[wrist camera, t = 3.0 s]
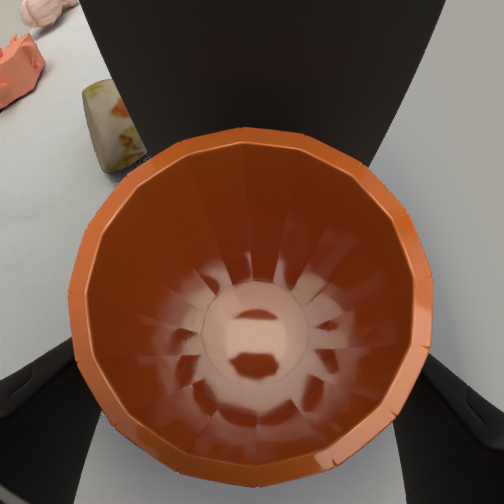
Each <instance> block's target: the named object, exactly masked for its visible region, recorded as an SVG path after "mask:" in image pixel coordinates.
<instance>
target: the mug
mask: <svg viewBox="0 0 504 504" xmlns="http://www.w3.org/2000/svg"><path fill="white" fill-rule="evenodd" d="M82 98H83V105H84V111H85V116H86V121H87V125H88V129H89V132H90V136H91V140H92V143H93V147H94V149H95V152H96V155H97V158H98V161H99V164H100V166H101V168H102V171H103V172H105V173H106V172H113V171H117V170H121V169H123V168H126V167H128V166H129V165H131V164H133V163H134V162H136V161H137V160H138V159H140V158H141V157H142V156H144V155H145V154H146V153H147V150H146V148H145V146H144V144H143V142H142V140H141V138H140V136H139V134H138V132H137V130H136V128H135V126H134V124H133V122H132V120H131V118H130V116H129V114H128V112H127V109H126V107H125V105H124V103H123V101H122V99H121V97H120V95H119V92H118V90H117V88H116V86H115V84H114V82H113V79H106V80H102V81H99V82H96V83H94V84H92V85H90V86H89V87H87V88H86V89H84V90H83V91H82Z"/></svg>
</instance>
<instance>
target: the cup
mask: <svg viewBox="0 0 504 504" xmlns="http://www.w3.org/2000/svg"><path fill="white" fill-rule="evenodd" d="M126 176H127V177H124V178H123V179H122V180H121V182H120V183H119V184H118V185H117V187H116V188H115V189H114V191H113V192H112V193H111V194H110V196H109V197H108V198H107V200H106V201H105V202H104V204H103V205H102V206H101V208H100V209H99V210H98V212H97V213H96V214H95V216H94V217H93V219H92V220H91V221H90V223H89V224H88V226H87V229H85V232H84V235H83V238H82V241H81V245H80V248H79V251H78V255H77V258H76V262H75V265H74V269H73V273H72V276H71V280H70V284H69V289H68V293H69V294H68V304H69V315H70V325H71V333H72V341H73V348H74V354H75V360H76V362H77V366H78V368H79V370H80V372H81V374H82V376H83V378H84V380H85V381H86V383H87V385H88V387H89V389H90V390H91V392H92V394H93V396H94V397H95V399H96V401H97V402H98V404H99V406H100V407H101V409H102V411H103V412H104V414H105V415H106V417H107V418H108V420H109V422H110V423H111V425H112V426H114V427H115V429H116V430H117V431H118V432H120V433H121V434H122V435H123V436H125V437H126V438H127V439H129V440H130V441H131V442H132V443H134V444H135V445H137V446H138V447H139V448H141V449H142V450H143V451H145V452H146V453H148V454H149V455H151V456H152V457H153V458H155V459H156V460H158V461H159V462H161V463H162V464H164V465H165V466H167V467H169V468H170V469H172V470H173V471H175V472H178V471H179V473H180V474H183V475H187V476H191V477H195V478H200V479H204V480H209V481H214V482H220V483H225V484H231V485H238V486H245V487H253V488H255V487H257V486H258V487H265V486H270V485H275V484H279V483H284V482H288V481H292V480H296V479H300V478H303V477H307V476H311V475H314V474H317V473H321V472H324V471H327V470H330V469H333V468H335V466H339V465H340V464H342V463H343V462H344V461H346V460H347V459H348V458H350V457H351V456H352V455H354V454H355V453H356V452H358V451H359V450H360V449H361V448H363V447H364V446H365V445H366V444H367V443H369V442H370V441H371V440H372V439H373V438H375V437H376V436H377V435H378V434H379V433H380V432H382V431H383V430H384V429H385V428H386V427H387V426H388V425H389V424H390V423H392V422H393V421H394V420H395V419H396V416H398V415H399V413H400V411H401V410H402V408H403V406H404V404H405V402H406V400H407V398H408V396H409V394H410V392H411V390H412V388H413V386H414V384H415V382H416V380H417V378H418V376H419V374H420V372H421V369H422V367H423V365H424V363H425V360H426V358H427V356H428V353H429V350H430V349H429V348H430V346H431V337H432V318H433V279H432V277H431V276H432V272H431V269H430V267H429V263H428V261H427V258H426V255H425V252H424V250H423V247H422V244H421V242H420V239H419V237H418V234H417V232H416V229H415V227H414V224H413V222H412V220H411V217H410V215H409V214H408V213H407V210H406V209H405V208H404V207H403V205H402V204H401V203H400V202H399V201H398V200H397V199H396V198H395V196H394V195H393V194H392V193H391V192H390V191H389V190H388V189H387V188H386V186H385V185H384V184H383V183H382V182H381V181H380V180H379V179H378V178H377V177H376V176H375V175H374V174H373V173H372V172H371V171H370V170H369V169H368V168H367V167H366V166H365V165H362V163H361V162H360V161H358V160H356V159H354V158H352V157H351V156H349V155H347V154H345V153H343V152H341V151H339V150H337V149H335V148H333V147H331V146H329V145H327V144H325V143H323V142H321V141H319V140H317V139H314V138H312V137H310V136H308V135H306V136H305V134H301V133H294V132H287V131H279V130H271V129H262V128H252V127H242V128H241V127H238V128H233V129H229V130H224V131H219V132H215V133H210V134H206V135H202V136H197V137H193V138H189V139H185V140H182V141H181V142H177V143H175V144H173V145H172V146H170V147H168V148H167V149H165V150H164V151H162V152H160V153H159V154H157V155H156V156H154V157H152V158H151V159H149V160H148V161H146V162H145V163H143V164H142V165H140V166H139V167H137V168H136V169H134V170H133V171H131V172H130V173H128V174H127V175H126Z"/></svg>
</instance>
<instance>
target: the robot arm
mask: <svg viewBox="0 0 504 504" xmlns="http://www.w3.org/2000/svg"><path fill="white" fill-rule="evenodd" d="M101 411H102V409H101V407H100V406H99V404H98V402H97V401H96V399H95V397H94V396H93V394H92V392H91V390H90V389H89V387H88V385H87V383H86V381H85V380H84V378H83V376H82V374H81V372H80V370H79V368H78V366H77V362H76V360H75V354H74V348H73V341H72V337H71V338H69V339H68V340H66V341H64V342H63V343H61V344H60V345H58V346H56V347H55V348H53V349H52V350H50V351H48V352H47V353H45V354H44V355H42V356H41V357H39V358H37V359H36V360H34V362H31V363H30V364H28V365H26V366H25V367H23V368H22V369H20V370H18V371H17V372H15V373H13V374H11V375H10V376H8V377H6V378H4V379H2V380H0V504H74V500H75V496H76V492H77V488H78V485H79V481H80V477H81V473H82V470H83V466H84V463H85V460H86V457H87V453H88V450H89V447H90V444H91V441H92V438H93V435H94V432H95V429H96V426H97V423H98V420H99V417H100V414H101ZM393 426H394V431H395V436H396V441H397V446H398V451H399V456H400V462H401V468H402V474H403V480H404V487H405V493H406V495H407V496H406V502H407V504H504V412H502V411H501V410H499V409H498V408H496V407H495V406H494V405H492V404H491V403H489V402H488V401H487V400H485V399H484V398H483V397H481V395H479V394H478V393H477V392H476V391H474V390H473V389H472V388H471V387H470V386H467V384H466V383H465V382H463V381H462V380H461V379H460V378H459V377H458V376H456V375H455V374H454V373H453V372H452V371H450V370H449V369H448V368H447V367H445V366H444V365H443V364H442V363H441V362H439V361H438V360H437V359H436V358H434V357H433V356H432V355H431V354H429V353H428V356H427V358H426V360H425V363H424V365H423V367H422V369H421V372H420V374H419V376H418V378H417V380H416V382H415V384H414V386H413V388H412V390H411V392H410V394H409V396H408V398H407V400H406V402H405V404H404V406H403V408H402V410H401V411H400V413H399V415H398V416H396V419H395V420H394V421H393Z"/></svg>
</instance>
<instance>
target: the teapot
mask: <svg viewBox="0 0 504 504" xmlns="http://www.w3.org/2000/svg"><path fill="white" fill-rule="evenodd" d="M44 64H45V60H44V59H43V57H42V55H41V53H40V52H39V50H38V47H37V44H36V43H35V42H34V41H33V39H32V37H31V35H30V33H28V34H26V35H24V36H23V37H21V38H19V39H18V40H16V34H15V35H14V36H13V37H12V38H11V40H10V45H9V46H7V47H6V48H4V49H3V50H2V49H1V48H0V109H1V108H5V107H7V106H8V105H9V104H10V103H11V102H12V101H14V100H15V99H17V98H19V97H20V96H24V95H26V94H27V93H28V92H29V91H30V90H32V89H34V86H35V84H36V82H37V79H38V77H39V75H40V73H41V70H42V68H43V66H44Z"/></svg>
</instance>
